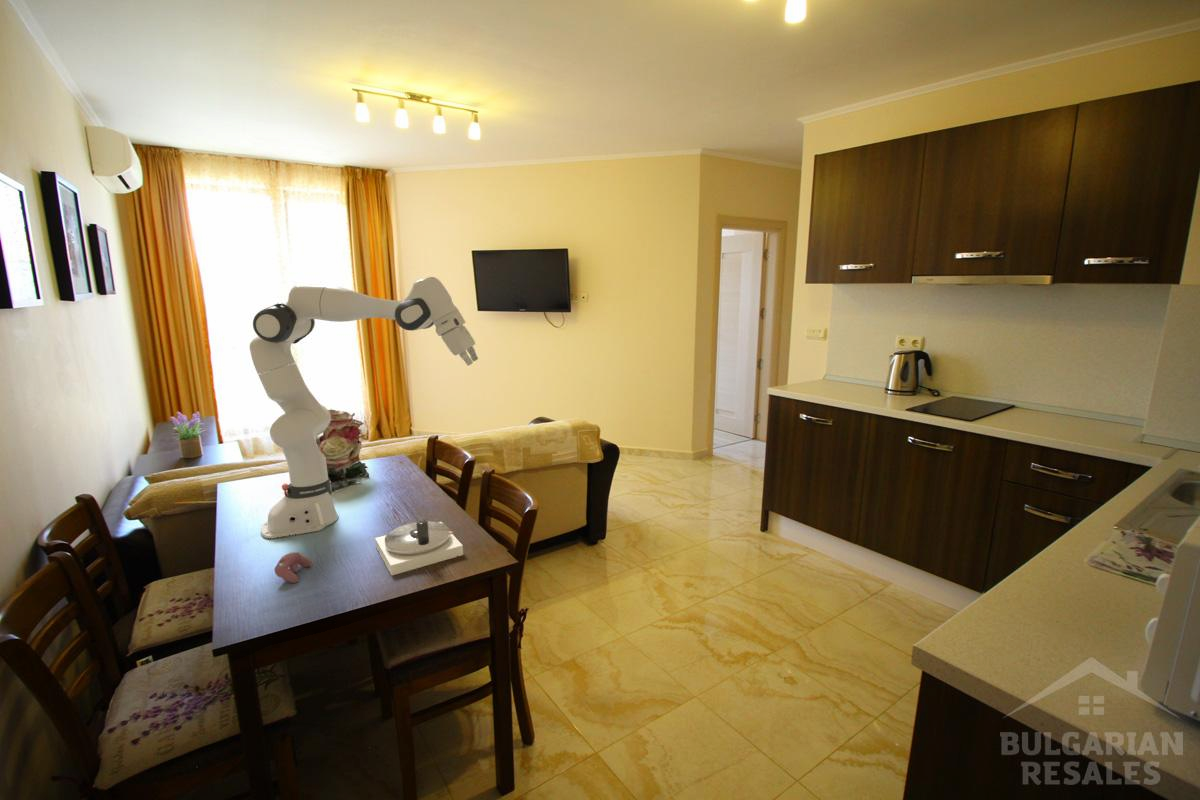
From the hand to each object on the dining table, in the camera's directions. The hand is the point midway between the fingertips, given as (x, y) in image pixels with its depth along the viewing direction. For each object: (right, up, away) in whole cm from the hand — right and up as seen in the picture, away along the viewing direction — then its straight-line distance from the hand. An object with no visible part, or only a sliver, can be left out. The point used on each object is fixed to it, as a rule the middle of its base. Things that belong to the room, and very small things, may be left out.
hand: (473, 362), depth 172 cm
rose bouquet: (-66, -46, +45) cm, 93 cm away
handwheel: (-13, -54, -15) cm, 57 cm away
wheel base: (-13, -57, -14) cm, 60 cm away
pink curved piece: (-43, -60, -27) cm, 78 cm away
